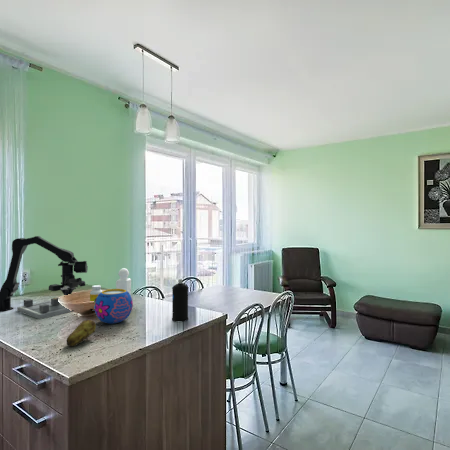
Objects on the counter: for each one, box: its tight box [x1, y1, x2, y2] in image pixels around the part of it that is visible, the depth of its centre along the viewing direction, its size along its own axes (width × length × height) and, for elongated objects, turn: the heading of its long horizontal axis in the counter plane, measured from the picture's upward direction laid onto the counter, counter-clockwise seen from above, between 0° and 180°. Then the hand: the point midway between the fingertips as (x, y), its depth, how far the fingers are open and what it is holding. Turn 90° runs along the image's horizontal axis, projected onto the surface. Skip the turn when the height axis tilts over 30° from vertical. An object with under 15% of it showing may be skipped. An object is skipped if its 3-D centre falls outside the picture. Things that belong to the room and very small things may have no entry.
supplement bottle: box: [89, 284, 103, 302], centre depth 173 cm, size 7×7×13 cm
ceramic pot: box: [94, 288, 134, 325], centre depth 151 cm, size 18×18×15 cm
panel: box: [16, 298, 71, 320], centre depth 169 cm, size 25×18×6 cm
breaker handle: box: [50, 297, 61, 305], centre depth 173 cm, size 4×3×3 cm
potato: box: [66, 319, 97, 348], centre depth 125 cm, size 8×13×8 cm, turn 142°
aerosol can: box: [171, 278, 190, 322], centre depth 155 cm, size 8×8×20 cm
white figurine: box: [115, 267, 132, 296], centre depth 178 cm, size 6×6×22 cm
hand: (67, 300), depth 179 cm, fingers closed
